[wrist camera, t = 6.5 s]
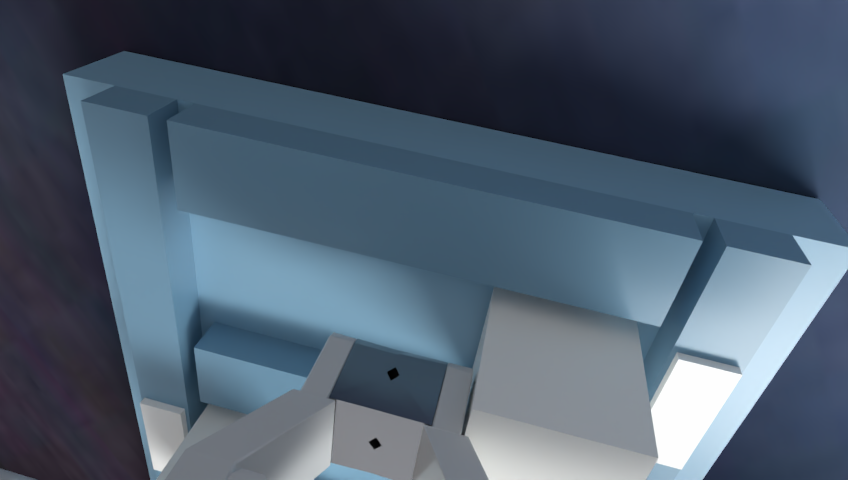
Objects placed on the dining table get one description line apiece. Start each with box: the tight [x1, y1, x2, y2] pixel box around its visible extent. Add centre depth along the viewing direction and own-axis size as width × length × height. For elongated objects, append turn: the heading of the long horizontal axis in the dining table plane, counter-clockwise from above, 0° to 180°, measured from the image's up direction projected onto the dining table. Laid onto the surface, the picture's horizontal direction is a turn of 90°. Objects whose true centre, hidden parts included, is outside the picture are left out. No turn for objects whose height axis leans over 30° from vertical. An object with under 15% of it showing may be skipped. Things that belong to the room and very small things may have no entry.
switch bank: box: [63, 51, 848, 480], centre depth 17 cm, size 20×16×3 cm
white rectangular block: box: [461, 287, 659, 480], centre depth 11 cm, size 3×3×4 cm
